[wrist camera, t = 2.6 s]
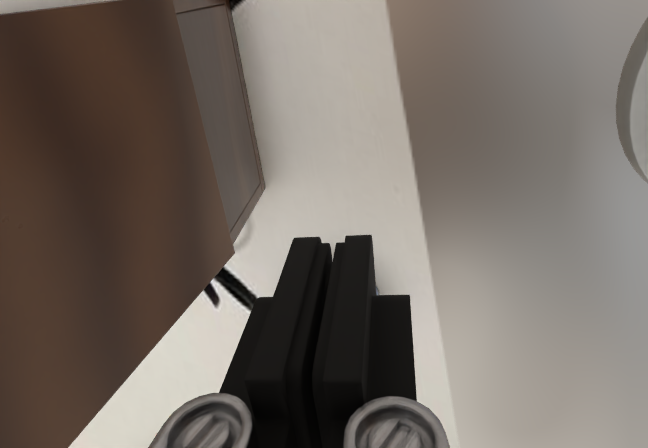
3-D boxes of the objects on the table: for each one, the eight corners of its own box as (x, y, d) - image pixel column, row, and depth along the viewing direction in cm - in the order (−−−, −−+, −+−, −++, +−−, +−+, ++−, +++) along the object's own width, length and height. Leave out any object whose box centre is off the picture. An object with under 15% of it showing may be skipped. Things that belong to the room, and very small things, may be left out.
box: (67, 199, 35) (-12, 255, 28) (-10, 17, 29) (-135, 33, 22) (265, 188, 32) (231, 248, 25) (226, -14, 26) (168, -7, 19)
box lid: (-95, 603, 11) (-73, 613, 11) (-673, 97, 5) (-654, 94, 5) (222, 252, 25) (235, 252, 25) (155, -5, 19) (171, -7, 19)
